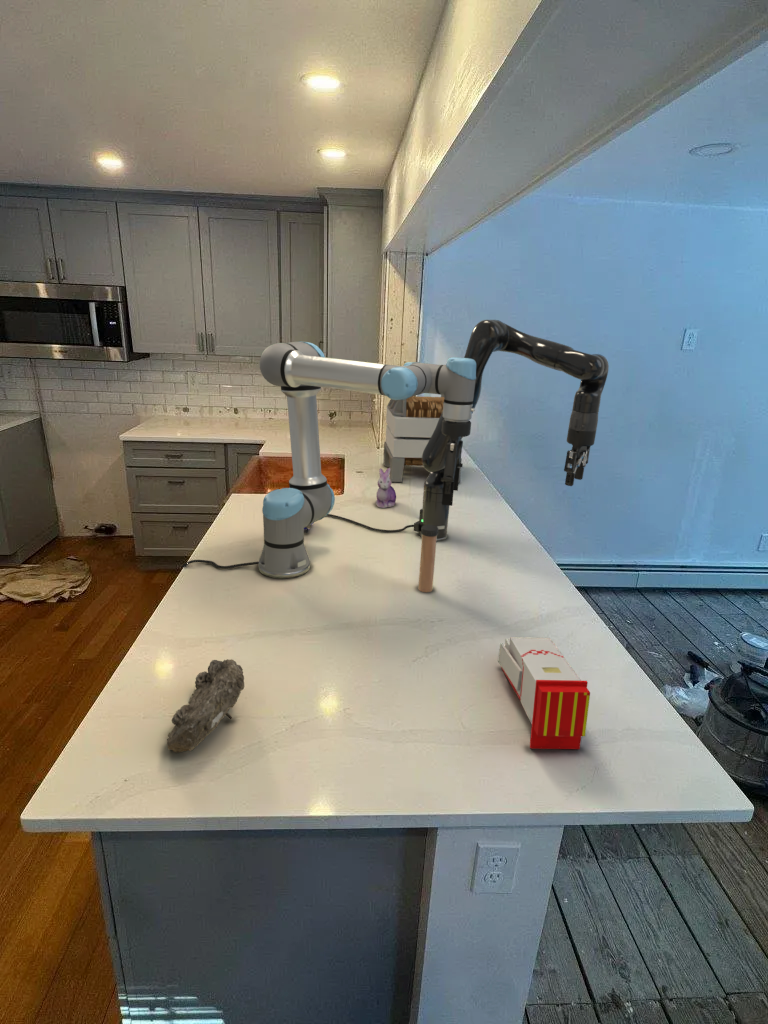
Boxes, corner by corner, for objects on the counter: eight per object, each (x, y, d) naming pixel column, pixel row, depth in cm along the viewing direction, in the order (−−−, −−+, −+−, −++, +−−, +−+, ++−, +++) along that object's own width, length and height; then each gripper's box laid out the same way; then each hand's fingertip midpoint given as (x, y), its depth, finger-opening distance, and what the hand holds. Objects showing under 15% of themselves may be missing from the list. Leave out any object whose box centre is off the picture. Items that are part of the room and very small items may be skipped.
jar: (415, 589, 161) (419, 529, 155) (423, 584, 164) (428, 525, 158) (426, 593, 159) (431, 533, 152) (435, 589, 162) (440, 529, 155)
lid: (417, 533, 155) (417, 527, 155) (427, 528, 159) (428, 523, 158) (431, 538, 152) (431, 532, 152) (441, 533, 156) (442, 528, 155)
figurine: (380, 509, 222) (382, 473, 217) (369, 501, 231) (370, 466, 226) (401, 507, 226) (404, 470, 221) (389, 499, 235) (391, 464, 230)
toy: (546, 620, 128) (599, 688, 99) (541, 675, 131) (591, 756, 102) (493, 619, 128) (531, 687, 99) (489, 674, 131) (524, 755, 101)
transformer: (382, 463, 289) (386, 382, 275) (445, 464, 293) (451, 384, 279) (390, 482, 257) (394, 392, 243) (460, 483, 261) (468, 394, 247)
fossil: (192, 660, 117) (244, 628, 112) (224, 691, 120) (276, 661, 115) (142, 746, 98) (202, 712, 93) (182, 779, 101) (242, 748, 96)
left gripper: (467, 429, 135) (459, 513, 142) (475, 413, 158) (467, 485, 165) (435, 427, 136) (429, 510, 144) (448, 410, 159) (442, 482, 167)
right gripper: (577, 422, 167) (568, 474, 173) (561, 428, 156) (552, 484, 162) (603, 425, 163) (593, 479, 169) (588, 433, 152) (578, 490, 158)
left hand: (450, 497), depth 154 cm, fingers open, 13 cm apart
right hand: (573, 482), depth 165 cm, fingers open, 8 cm apart
